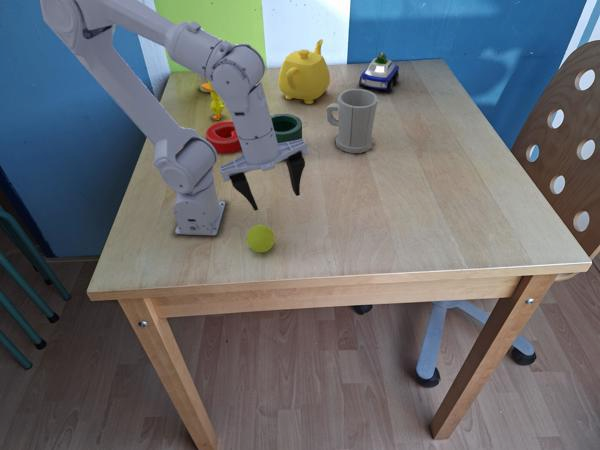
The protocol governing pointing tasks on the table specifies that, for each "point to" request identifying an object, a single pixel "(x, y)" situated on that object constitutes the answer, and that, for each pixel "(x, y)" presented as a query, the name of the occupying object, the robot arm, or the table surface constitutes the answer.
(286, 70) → the teapot
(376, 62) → the toy car
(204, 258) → the table surface
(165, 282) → the table surface
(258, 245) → the ball
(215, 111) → the toy figure
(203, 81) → the candle
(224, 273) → the table surface
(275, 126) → the jar
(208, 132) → the decorative ornament
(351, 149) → the cup
